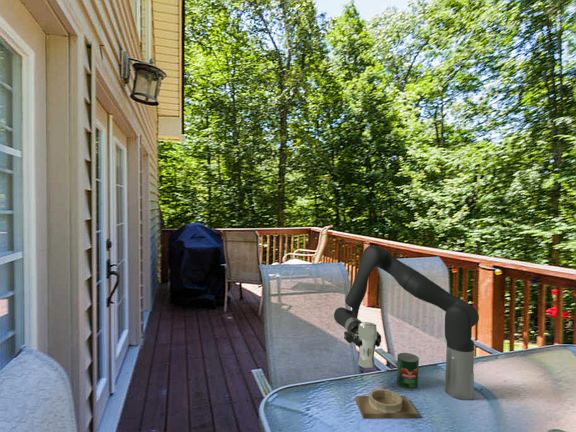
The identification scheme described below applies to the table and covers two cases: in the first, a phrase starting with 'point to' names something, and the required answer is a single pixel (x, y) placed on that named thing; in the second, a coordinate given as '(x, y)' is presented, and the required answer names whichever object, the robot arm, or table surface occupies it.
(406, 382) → the canned tomato
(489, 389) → the table surface
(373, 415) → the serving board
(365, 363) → the beer glass
